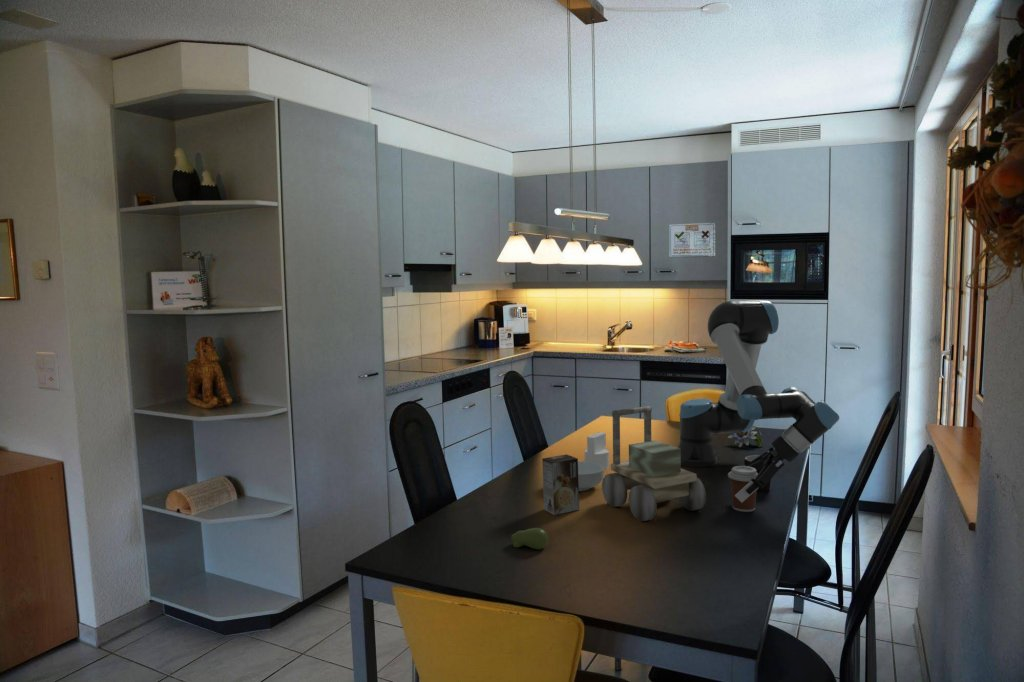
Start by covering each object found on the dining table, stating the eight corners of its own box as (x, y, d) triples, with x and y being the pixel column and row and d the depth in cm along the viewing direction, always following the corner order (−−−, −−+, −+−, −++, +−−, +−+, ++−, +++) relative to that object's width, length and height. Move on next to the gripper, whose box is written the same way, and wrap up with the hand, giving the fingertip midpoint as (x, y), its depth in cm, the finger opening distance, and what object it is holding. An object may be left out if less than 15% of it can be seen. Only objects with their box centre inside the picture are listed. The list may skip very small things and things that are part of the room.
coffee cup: (726, 511, 198) (727, 472, 197) (728, 501, 206) (728, 463, 205) (759, 514, 195) (760, 474, 194) (760, 504, 203) (760, 466, 202)
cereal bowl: (613, 486, 225) (613, 466, 224) (584, 499, 212) (583, 477, 212) (573, 477, 236) (573, 457, 236) (543, 488, 224) (542, 468, 223)
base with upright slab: (601, 471, 242) (601, 438, 241) (580, 467, 248) (579, 435, 247) (613, 465, 250) (613, 434, 248) (592, 462, 255) (592, 431, 254)
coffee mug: (775, 493, 213) (775, 462, 212) (747, 492, 215) (747, 462, 214) (769, 482, 224) (769, 453, 223) (742, 481, 226) (742, 452, 225)
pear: (540, 532, 171) (506, 533, 175) (544, 552, 171) (509, 553, 175) (549, 524, 176) (515, 525, 180) (552, 544, 176) (519, 545, 180)
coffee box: (568, 504, 208) (567, 453, 207) (579, 510, 202) (578, 458, 201) (542, 509, 204) (541, 457, 202) (553, 515, 198) (552, 462, 197)
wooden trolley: (602, 501, 209) (601, 410, 207) (655, 491, 218) (654, 403, 216) (649, 526, 188) (649, 424, 185) (706, 513, 197) (706, 416, 194)
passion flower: (740, 460, 272) (722, 436, 273) (747, 449, 281) (729, 426, 282) (763, 448, 265) (745, 423, 267) (769, 437, 274) (751, 413, 275)
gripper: (808, 465, 183) (749, 515, 188) (793, 443, 207) (741, 488, 212) (787, 445, 184) (730, 495, 189) (775, 425, 208) (724, 470, 213)
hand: (736, 491), depth 201 cm, fingers open, 13 cm apart
